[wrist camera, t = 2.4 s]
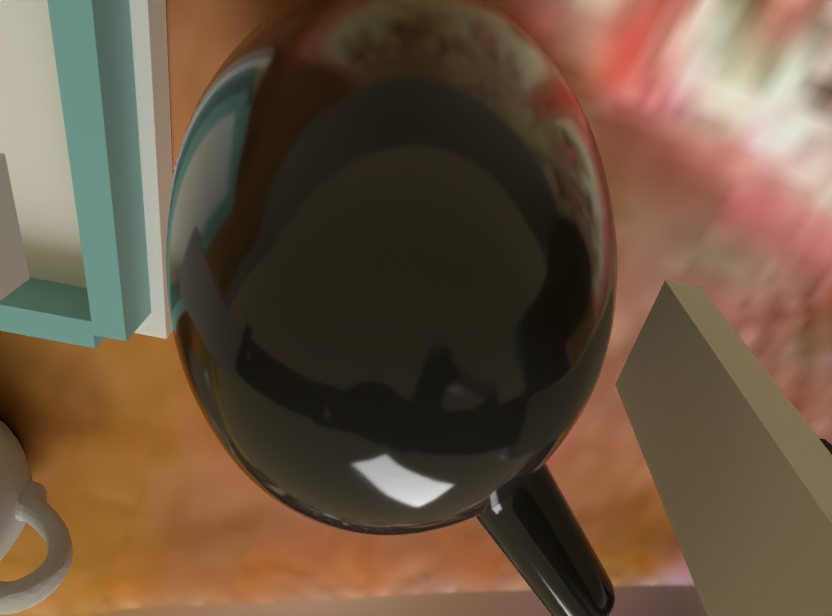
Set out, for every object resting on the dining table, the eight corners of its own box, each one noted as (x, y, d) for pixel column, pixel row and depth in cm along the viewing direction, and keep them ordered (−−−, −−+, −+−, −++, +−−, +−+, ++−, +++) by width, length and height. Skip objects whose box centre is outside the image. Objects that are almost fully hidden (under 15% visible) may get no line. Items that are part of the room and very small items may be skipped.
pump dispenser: (368, 341, 23) (335, 814, 9) (177, 120, 19) (-398, 378, 5) (595, 194, 20) (1006, 537, 7) (431, -93, 16) (634, -682, 3)
